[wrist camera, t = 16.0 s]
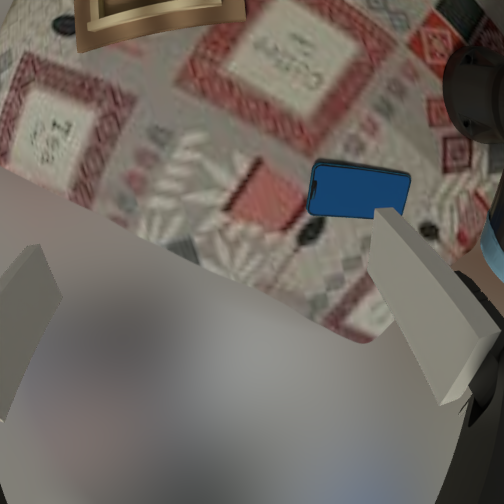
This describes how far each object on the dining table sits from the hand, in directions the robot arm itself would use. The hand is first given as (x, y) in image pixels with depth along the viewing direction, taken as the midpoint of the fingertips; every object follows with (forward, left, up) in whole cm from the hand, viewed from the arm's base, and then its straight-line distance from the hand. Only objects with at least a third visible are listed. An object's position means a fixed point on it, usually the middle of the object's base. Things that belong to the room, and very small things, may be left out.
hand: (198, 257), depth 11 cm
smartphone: (-18, +10, -29) cm, 36 cm away
